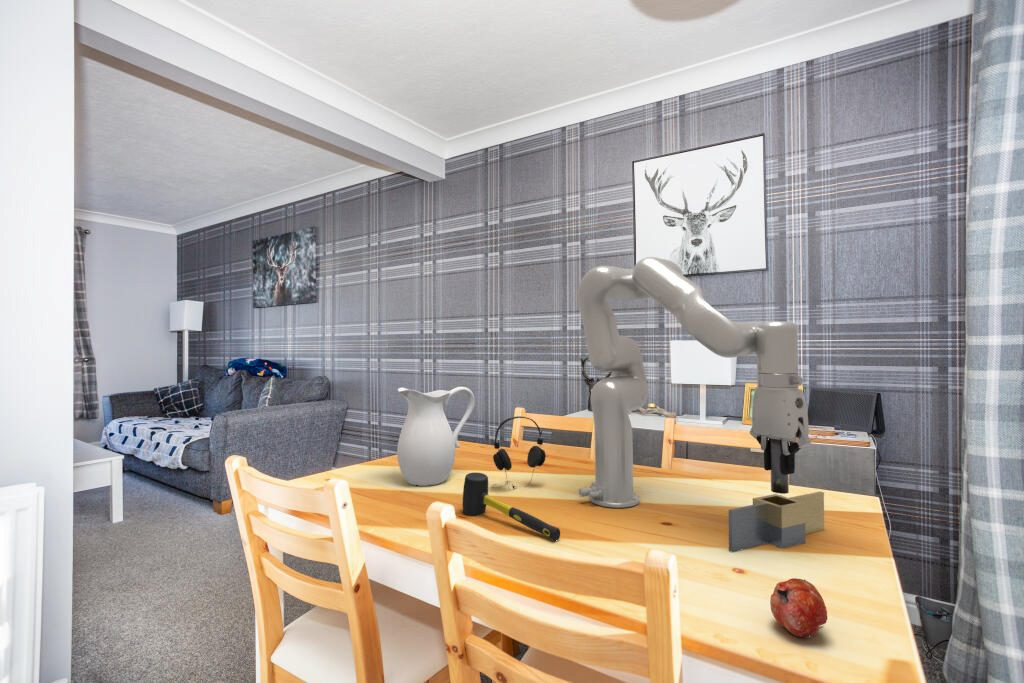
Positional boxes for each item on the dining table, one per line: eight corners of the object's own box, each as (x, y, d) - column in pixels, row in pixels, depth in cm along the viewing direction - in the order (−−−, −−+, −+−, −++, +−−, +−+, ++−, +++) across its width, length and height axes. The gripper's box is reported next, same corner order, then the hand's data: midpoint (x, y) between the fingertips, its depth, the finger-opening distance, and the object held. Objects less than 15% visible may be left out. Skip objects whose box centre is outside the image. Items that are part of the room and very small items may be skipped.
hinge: (744, 558, 97) (744, 515, 97) (717, 545, 103) (716, 505, 103) (837, 534, 108) (837, 496, 108) (807, 523, 114) (807, 487, 114)
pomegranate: (793, 628, 78) (744, 592, 77) (824, 591, 77) (775, 554, 76) (825, 664, 70) (771, 625, 69) (860, 623, 70) (806, 583, 69)
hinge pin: (781, 495, 103) (780, 435, 103) (762, 490, 107) (761, 432, 107) (796, 492, 104) (795, 433, 105) (777, 487, 109) (776, 430, 109)
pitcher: (404, 492, 142) (402, 391, 142) (392, 477, 158) (391, 386, 157) (485, 481, 152) (484, 387, 152) (467, 468, 167) (466, 382, 167)
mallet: (567, 538, 108) (566, 492, 108) (548, 547, 104) (548, 499, 104) (476, 507, 129) (475, 469, 129) (457, 513, 125) (456, 474, 125)
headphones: (533, 478, 154) (532, 411, 154) (549, 488, 144) (548, 416, 144) (485, 484, 149) (484, 414, 149) (497, 494, 139) (497, 420, 138)
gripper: (828, 383, 100) (830, 478, 100) (756, 378, 115) (758, 461, 115) (802, 385, 97) (803, 483, 97) (731, 380, 112) (733, 465, 112)
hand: (779, 470), depth 106 cm, fingers closed on hinge pin, 3 cm apart
